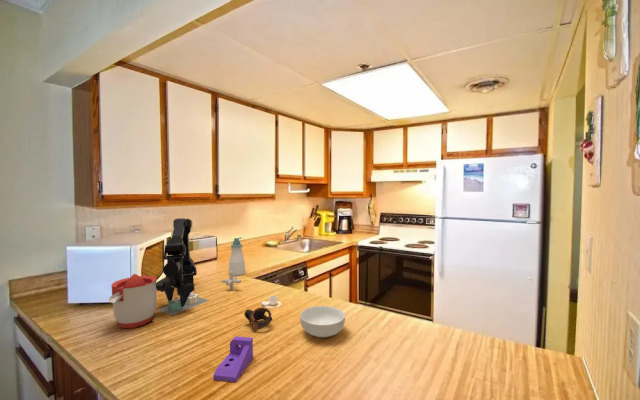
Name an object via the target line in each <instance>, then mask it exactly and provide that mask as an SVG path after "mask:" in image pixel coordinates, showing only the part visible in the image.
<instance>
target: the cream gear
mask: <svg viewBox="0 0 640 400" xmlns="http://www.w3.org/2000/svg"><path fill="white" fill-rule="evenodd" d="M199 298H200V297H199V294H198V293H193V297H188V299H187V301H186V303H185V305H186V304H189V305H191V304H196V303H197V302H199Z"/></svg>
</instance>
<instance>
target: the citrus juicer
mask: <svg viewBox="0 0 640 400" xmlns="http://www.w3.org/2000/svg"><path fill="white" fill-rule="evenodd" d="M156 283H157V277H156V276H153V275H138V274H137V273H133V274H132V275H131V276H130V277H126V278H121V279H119V280H116V281H114V282H113V283H111V286H110V287H111V296H110V297H109V299H108V302H109V303H111V304H112V311H113V315H114V318H115V321H116V323H117V325H118V326H119V327H120V328H122V329H134V328H137V327H141V326H143V325H146V324H148V323H150V322H151V321H152V319H153V318H154V316H155V312H156V307H157V289H156Z"/></svg>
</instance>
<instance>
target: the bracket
mask: <svg viewBox="0 0 640 400" xmlns="http://www.w3.org/2000/svg"><path fill="white" fill-rule="evenodd" d="M253 339H254V338H253V337H247V336H234V338H232V339H231V341H230V342H229V354H228V355H227V356H225V358H224V359H223V361H221V362H220V364H219V365H218V366H217V367H216V369H215V371H214V373H213V375H212V376H213V378H212V380H215V381H223V382H229V381H230V382H231V383H236V382H237V381H238V380H239V379H240V377H241V376H242V374H243V373H244V371H245V370H246V369H247V367H248V366H249V365H250V363H251V362H252V360H253V359H254V341H253Z"/></svg>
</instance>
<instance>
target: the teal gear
mask: <svg viewBox="0 0 640 400" xmlns="http://www.w3.org/2000/svg"><path fill="white" fill-rule="evenodd" d="M167 306H168V310H171V311H173V310H179V309H181V308H182V309H183V308H184V307H181V302H180V298H178V302H176V303H174V299H172V301H169V302H167Z"/></svg>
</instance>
